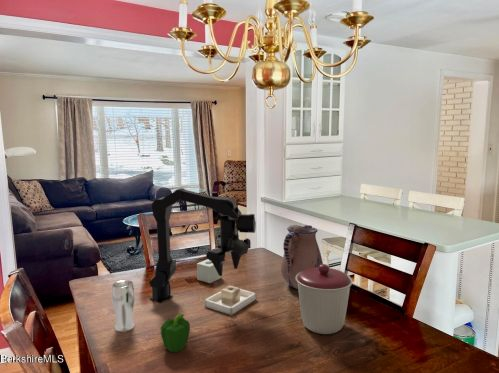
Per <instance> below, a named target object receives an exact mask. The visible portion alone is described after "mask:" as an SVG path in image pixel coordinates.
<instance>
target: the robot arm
mask: <svg viewBox="0 0 499 373" xmlns="http://www.w3.org/2000/svg"><path fill="white" fill-rule="evenodd" d="M179 201H183V202H187V203H190V204H195V205H199V206H202V207H206V208H210V209H212V211H214V212H215V213H218V214H217V215H216V217H214V221H219V234H217V238H219V240H220V243H219V245H217V249H215V248H213V249H210V250H207V251H206V253H205V258H206V259H205V260H207V259H209V260H210V261H211V262H212V263H213V265H214V267H215V269H216V271H217V273H218V274H219V276H221V277H222V276H223V271H224V270H223V269H224V268H223V266H224V265H223V264H224V263H225V261H226V259H225V258H226V254H228V253H230V254H231V255H230V256H231V261H232V265H233V269H235V270H237V269H238V267H239V263H240V261H241V257H242V256H244V255H245V254H248V252H249V249H251V247H252V246H251V245H252V244H251V239H249V238H245V239H244V240H243V239H240V238H239V234H238V233H236V231H237V232H238V231H239V233H245V234H246V233H250V234H255V233H256V228H257V227H256V226H257V225H256V224H257V221H256V217H255V216H256V215H255V214H254V213H250V214H244V213H242V212H241V211H240V208H238V206H237V202H236V200H235V199H234V198H232V197H231V196H230V197H228V196H213V195H208V194H203V193H201V192H196V191H191V190H188V189H185V188H182V187H180V188H178V189H175V190H174V191H173V192H172V193H169V194H168V195H167V196H163V197H160V198H157V199H155V200H154V201H152V203H151V210H152V211H151V212H152V216H153V218H154V220H155V222H156V232H157V252H158V253H157V254H158V259H157V262H156V266H155V273H154V277H153V278H152V279H151V280H149V283H148V284H149V285H150V288H151V290H152V291H151V293H152V295H151V296H150V297H149V300H151V301H154V302H157V303H159V304H162V303H163V302H166V301H168V300H170V299H172V298H173V297H174V295H172V294H171V283H170V282H171V281H170V280H171V278H172V277H173V276H174V275H175V274H176V271H177V269H178V268H177V259H173V258H172V255H171V238H170V237H171V236H170V234H171V233H170V217H171V215H172V210H173V205H175V204H177V203H178V202H179Z"/></svg>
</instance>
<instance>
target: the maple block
mask: <svg viewBox="0 0 499 373" xmlns="http://www.w3.org/2000/svg"><path fill="white" fill-rule="evenodd" d="M240 289H241V288H240V287H237V286H233V285H226V286H225V287H223V288H221V290H220V291H221V301H222V303H225V304H228V305H231V306H232V305H234V304H236V303H237V302H239V301H240Z"/></svg>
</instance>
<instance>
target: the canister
mask: <svg viewBox="0 0 499 373" xmlns="http://www.w3.org/2000/svg"><path fill="white" fill-rule="evenodd" d="M295 279H296V281H297V282H298V289H297V290H298V291H297V292H298V299H299V300H298V301H299V309H300V316H301V320H302V323H303V325H304V327H305V328H307V330H308V331H309V330H310V331H311V332H313V333H316V334H321V335H331V334H335V333H338V332H339V331H340V330H341V329H342V328H343V327H344V324H345V320H346V315H347V309H348V303H349V302H348V301H349V296H350V290H351V286H352V285H353V279H352V277H351V276H350V275H348V274H347V273H345V272H343V271H341V270H339V269H336V268H330V266H329V265H328V264H325V263H323V264H321V265H319V267H316V268H309V269H306V270H303V271H302V272H300V273H298V274H297V275H296V277H295Z"/></svg>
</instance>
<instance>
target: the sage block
mask: <svg viewBox="0 0 499 373" xmlns="http://www.w3.org/2000/svg"><path fill="white" fill-rule="evenodd" d="M196 277H197V278H196V280H197V281H201V282H204V283H208V284H211V283H214V282H215V281H217V280H220V279H221V278H222V276H219V274H218V273H217V271H216V269H215V267H214V265H213V263H212V262H211V261H210V260H209V259H205V260H202V261H200V262H198V263H196Z"/></svg>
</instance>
